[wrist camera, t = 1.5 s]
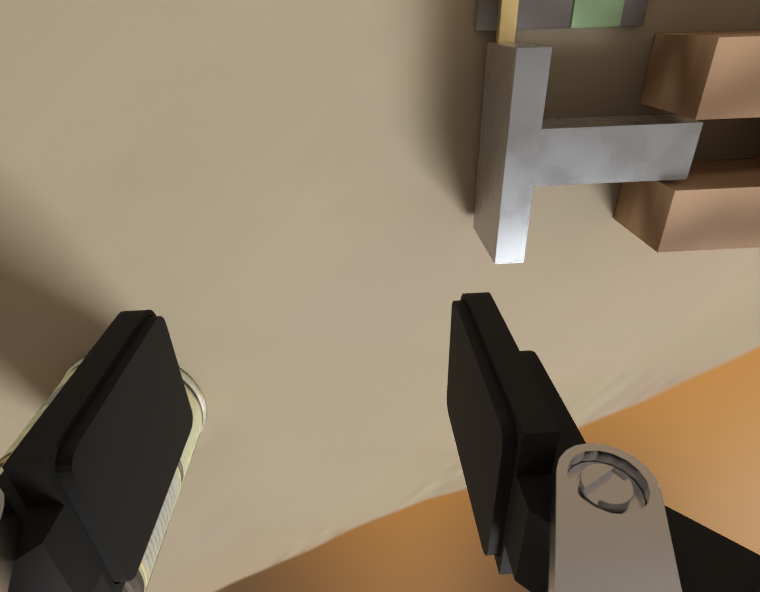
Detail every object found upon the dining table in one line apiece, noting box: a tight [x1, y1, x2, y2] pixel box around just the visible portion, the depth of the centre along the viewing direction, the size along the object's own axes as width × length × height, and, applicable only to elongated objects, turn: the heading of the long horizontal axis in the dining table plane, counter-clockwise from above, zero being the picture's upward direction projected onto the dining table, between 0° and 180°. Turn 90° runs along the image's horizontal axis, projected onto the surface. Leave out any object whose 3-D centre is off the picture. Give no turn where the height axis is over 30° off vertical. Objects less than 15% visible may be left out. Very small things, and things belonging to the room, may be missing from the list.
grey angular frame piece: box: [473, 0, 703, 264], centre depth 24 cm, size 12×10×5 cm
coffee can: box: [0, 357, 206, 592], centre depth 30 cm, size 10×10×14 cm
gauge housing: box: [475, 0, 760, 252], centre depth 25 cm, size 13×20×6 cm, turn 91°
